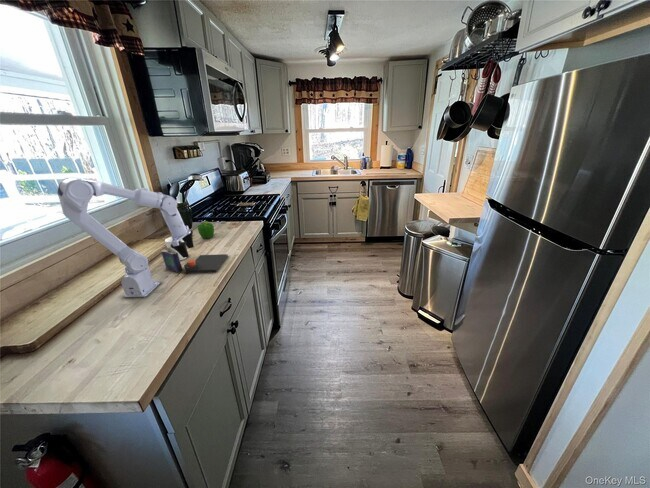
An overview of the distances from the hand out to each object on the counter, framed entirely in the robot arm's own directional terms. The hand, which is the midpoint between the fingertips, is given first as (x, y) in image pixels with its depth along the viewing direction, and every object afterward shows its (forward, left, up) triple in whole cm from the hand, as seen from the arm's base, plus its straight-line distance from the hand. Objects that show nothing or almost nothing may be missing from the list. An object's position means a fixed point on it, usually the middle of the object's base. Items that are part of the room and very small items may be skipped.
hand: (188, 252), depth 110 cm
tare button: (-1, -1, -6) cm, 6 cm away
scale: (+4, -5, -8) cm, 10 cm away
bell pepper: (+38, +9, -8) cm, 40 cm away
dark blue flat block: (0, +8, -8) cm, 11 cm away
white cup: (+12, +12, -8) cm, 19 cm away
